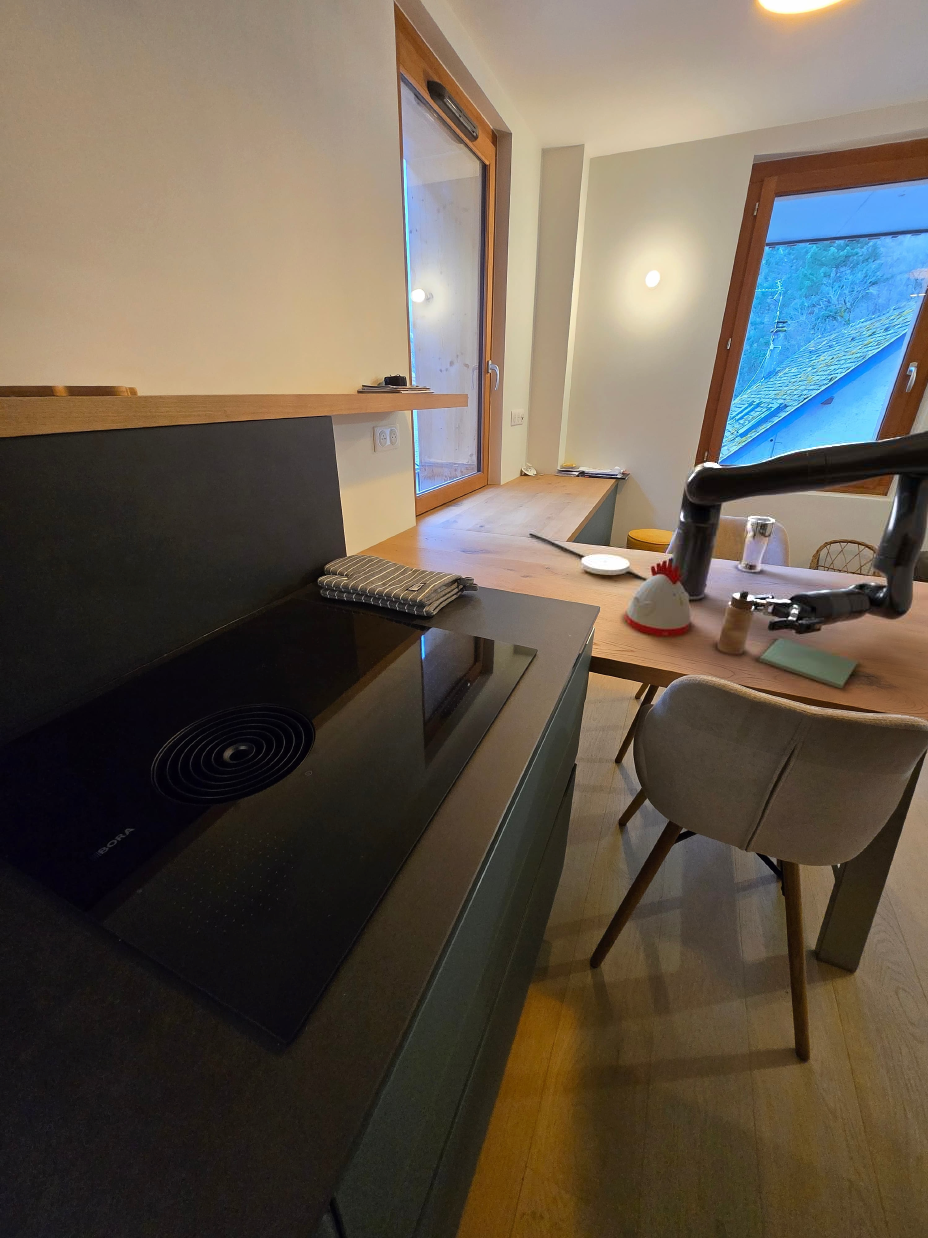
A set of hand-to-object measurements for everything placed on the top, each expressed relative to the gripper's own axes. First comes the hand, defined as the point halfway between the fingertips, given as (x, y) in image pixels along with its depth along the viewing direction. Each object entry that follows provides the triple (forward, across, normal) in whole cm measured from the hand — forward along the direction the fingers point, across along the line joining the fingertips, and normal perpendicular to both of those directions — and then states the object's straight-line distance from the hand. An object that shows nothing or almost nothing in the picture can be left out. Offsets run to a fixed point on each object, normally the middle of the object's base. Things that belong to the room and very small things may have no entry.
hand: (754, 616), depth 102 cm
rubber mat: (-7, +9, +7) cm, 13 cm away
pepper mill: (+4, 0, +7) cm, 8 cm away
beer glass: (-35, -40, +7) cm, 54 cm away
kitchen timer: (+12, -15, +7) cm, 20 cm away
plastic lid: (+6, -50, +7) cm, 51 cm away
